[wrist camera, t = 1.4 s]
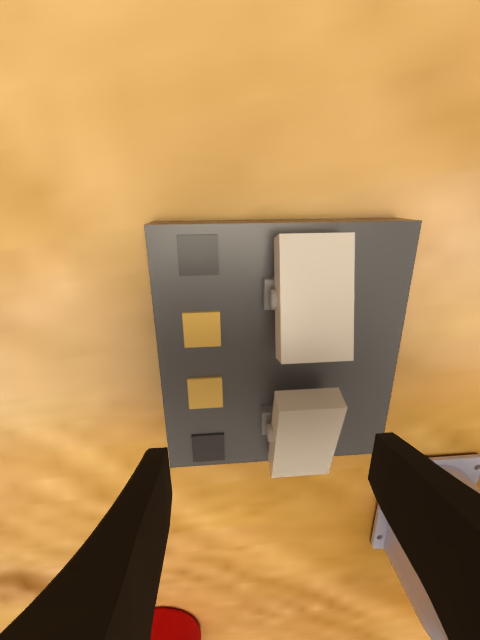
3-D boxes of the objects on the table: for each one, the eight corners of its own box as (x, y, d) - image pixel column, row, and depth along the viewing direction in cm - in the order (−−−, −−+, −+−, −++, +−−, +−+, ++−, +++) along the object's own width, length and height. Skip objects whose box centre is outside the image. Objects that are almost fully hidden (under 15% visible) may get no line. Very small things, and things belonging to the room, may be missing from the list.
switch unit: (364, 428, 24) (385, 460, 21) (174, 440, 23) (169, 476, 20) (396, 217, 19) (430, 221, 16) (152, 221, 18) (141, 225, 15)
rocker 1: (346, 353, 17) (358, 360, 16) (270, 357, 17) (275, 364, 15) (346, 236, 16) (360, 232, 15) (268, 238, 16) (273, 233, 15)
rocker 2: (324, 451, 21) (332, 473, 20) (263, 455, 21) (267, 478, 20) (342, 385, 18) (352, 407, 17) (269, 389, 17) (274, 412, 16)
